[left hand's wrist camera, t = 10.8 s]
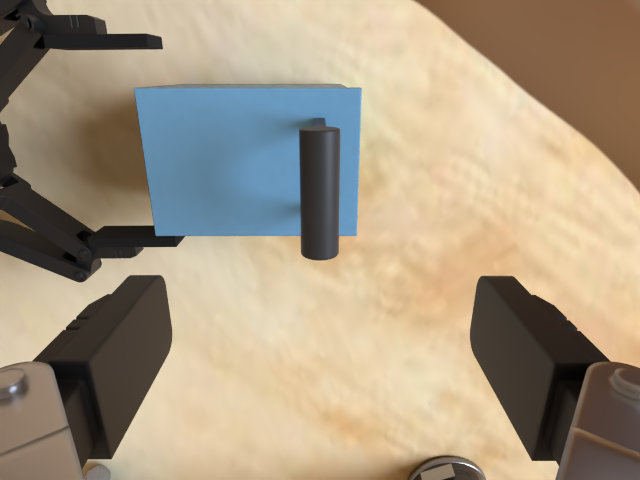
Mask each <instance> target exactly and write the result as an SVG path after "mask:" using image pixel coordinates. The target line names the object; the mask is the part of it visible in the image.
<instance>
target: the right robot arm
mask: <svg viewBox="0 0 640 480" xmlns="http://www.w3.org/2000/svg"><path fill="white" fill-rule="evenodd" d="M46 3H47V1H46V0H0V36H1V35H3V34H4V33H6V32H8V31H9V30H11V29H12V28H14V29H13V30H12V31H11V32H10V34H9V35H8V36H7V37H6V39H5V40H4V41H3V42H2V43H1V45H0V112H1V111H2V110H3V108H4V107H5V106H6V105H7V104H8V102H9V100H8V98H9V96H10V95H11V94H12V93H13V92H14V90H15V89H16V88H17V87H18V86H19V85H20V83H21V82H22V81H23V80H24V79H25V78H26V76H27V75H28V74H29V73H30V72H31V71H32V69H33V68H34V67H35V66H36V65H37V63H38V62H39V61H40V60H41V59H42V58H43V56H44V55H45V54H46V53H47V52H48V51H49V49H50V48H52V49H62V50H129V49H163V46H162V38H161V37H158V36H154V35H150V34H107V29H106V24H105V21H104V20H101V19H99V18H96V17H92V16H88V15H53V14H52V13H51V12H50V11H49V9H48V7H47V5H46ZM15 167H17V165H16V161H15V157H14V155H13V153H12V151H11V149H10V147H9V134H8V131H7V127H6V124H2V123H1V122H0V187H1V186H3V187H4V188H2V189H0V209H1V210H4V211H5V212H7V213H8V214H10V215H12V216H13V217H15V218H16V219H18V220H19V221H21V222H22V223H24V224H25V225H27V226H28V227H30V228H32V229H33V230H35V231H36V232H35V231H33V230H30V229H28V228H26V227H23V226H21V225H18V224H16V223H13V222H9V221H5V220H0V251H1V252H4V253H6V254H9V255H11V256H14V257H16V258H19V259H21V260H24V261H26V262H29V263H31V264H34V265H36V266H39V267H41V268H44V269H46V270H49V271H51V272H54V273H56V274H59V275H61V276H64V277H67V278H69V279H72V280H74V281H77V282H84V281H86V280H87V279H88V278H89V277H90V276H91V275H92V274H93V273H95V272H96V271H97V270H98V269H99V268H100V267H101V265H102V262H101V260H100V258H132V257H135V256H137V255H138V254H139V253H140V252H141V251H142V250H143V247H177V245H178V244H179V243H180V242H181V241H182V239H183V238H184V237H185V236H156V234H155V227H154V226H104V227H102V228H101V229H99V230H98V231H97V232H94V231H93V230H91V229H90V228H88V227H87V226H85V225H84V224H82V223H81V222H79V221H78V220H76V219H75V218H73V217H72V216H70V215H69V214H67V213H66V212H64V211H63V210H61V209H60V208H58V207H57V206H55V205H54V204H52V203H51V202H50V201H48V200H47V199H45V198H44V197H42V196H41V195H39V194H38V193H36V192H35V191H33V190H32V189H31V185H30V184H29V183H28V182H26V181H25V180H23V179H22V178H20V177H19V176H17V175H16V174H15V173H13V169H14V168H15Z"/></svg>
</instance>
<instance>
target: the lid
mask: <svg viewBox="0 0 640 480" xmlns="http://www.w3.org/2000/svg"><path fill="white" fill-rule="evenodd" d="M361 90H362V89H361V88H134V92H135V99H136V106H137V112H138V119H139V126H140V133H141V139H142V146H143V153H144V160H145V167H146V173H147V180H148V187H149V194H150V200H151V207H152V214H153V221H154V227H155V234H156V236H301V254H302V255H303V256H304V257H305V258H308V259H311V260H328V259H332V258H334V257H336V256H337V255H338V250H339V236H356V235H357V211H358V181H359V151H360V121H361Z"/></svg>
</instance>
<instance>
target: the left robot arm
mask: <svg viewBox="0 0 640 480" xmlns="http://www.w3.org/2000/svg"><path fill="white" fill-rule="evenodd" d="M470 342H471V347H472V351H473V354H474V356H475V358H476V359H477V361H478V363H479V365H480V367H481V368H482V370H483V372H484V374H485V376H486V378H487V379H488V381H489V383H490V385H491V387H492V389H493V390H494V392H495V394H496V396H497V398H498V399H499V401H500V403H501V405H502V407H503V409H504V410H505V412H506V414H507V416H508V418H509V420H510V421H511V423H512V425H513V427H514V429H515V431H516V432H517V434H518V436H519V438H520V440H521V441H522V443H523V445H524V447H525V449H526V451H527V452H528V454H529V456H530V458H531V460H532V461H556V462H557V464H558V465H559V469H558V473H557V476H556V480H640V368H638V367H635V366H632V365H628V364H624V363H618V362H611V361H610V360H609V359H608V358H607V357H606V356H605V355H604V354H603V353H602V352H601V351H600V350H599V349H598V348H597V347H596V346H595V345H593V344H592V343H591V342H590V341H589V340H588V339H587V338H586V337H585V336H584V335H583V334H582V333H581V332H580V331H577V328H576V327H575V326H574V325H573V324H572V323H571V322H570V321H569V320H567V318H566V317H565V316H564V315H563V314H562V313H561V312H560V311H559V310H558V309H557V308H556V307H555V306H554V305H552V304H550V303H549V302H547V301H545V300H543V299H541V298H540V297H538V296H536V295H531V294H530V293H529V292H528V291H527V290H526V289H525V288H524V287H523V286H522V285H521V284H520V283H519V282H518V281H517V279H516V278H514V277H513V276H481V277H480V278H479V280H478V283H477V287H476V294H475V301H474V308H473V314H472V321H471V328H470ZM171 343H172V325H171V319H170V312H169V305H168V298H167V291H166V285H165V281H164V279H163V277H162V276H160V275H130V276H129V277H127V278H126V280H125V281H124V282H123V283H122V284H121V285H120V286H119V287H118V288H117V289H116V290H115V291H114V292H113V293H112V294H107V295H105V296H104V297H102V298H100V299H98V300H96V301H95V302H93V303H91V304H89V305H88V306H87V307H86V308H85V309H84V310H83V311H82V312H81V313H80V314H79V315H78V316H77V317H76V320H73V321H72V322H71V323H70V324H69V325H68V326H67V327H66V330H63V331H62V332H61V333H60V334H59V335H58V336H57V337H56V338H55V339H54V340H53V341H52V342H51V343H50V344H49V345H48V346H47V347H46V348H45V349H44V350H43V351H42V352H41V353H40V354H39V355H38V356H37V357H36V358H35V359H34V360H33V361H32V362H22V363H16V364H12V365H8V366H5V367H2V368H0V480H84V476H83V473H82V468H83V466H84V465H85V463H86V462H87V460H88V459H112V457H113V455H114V453H115V452H116V450H117V448H118V446H119V444H120V442H121V440H122V439H123V437H124V435H125V433H126V431H127V429H128V427H129V426H130V424H131V422H132V420H133V418H134V416H135V415H136V413H137V411H138V409H139V407H140V405H141V403H142V402H143V400H144V398H145V396H146V394H147V392H148V391H149V389H150V387H151V385H152V383H153V381H154V379H155V378H156V376H157V374H158V372H159V370H160V368H161V367H162V365H163V363H164V361H165V359H166V357H167V355H168V353H169V351H170V348H171ZM408 480H486V478H485V476H484V474H483V472H482V470H481V469H480V468H479V467H478V466H477V465H476V464H474V463H473V462H471V461H469V460H467V459H464V458H459V457H441V458H436V459H433V460H430V461H427V462H425V463H424V464H422V465H420V466H419V467H418V468H416V469H415V470H414V471H413V472H412V474H411V475H410V477H409V479H408Z"/></svg>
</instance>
